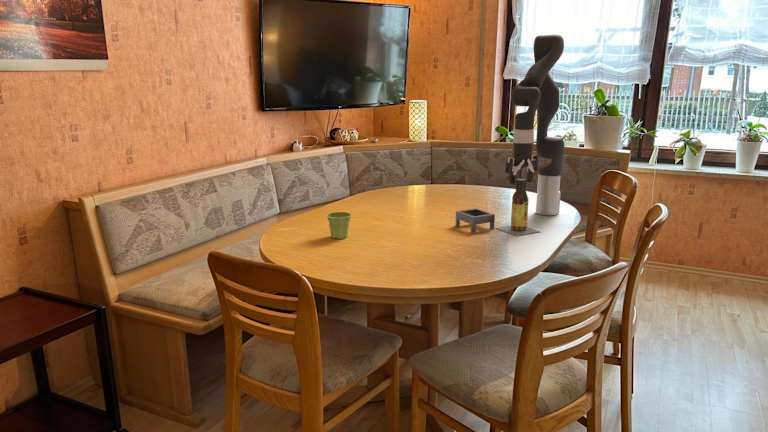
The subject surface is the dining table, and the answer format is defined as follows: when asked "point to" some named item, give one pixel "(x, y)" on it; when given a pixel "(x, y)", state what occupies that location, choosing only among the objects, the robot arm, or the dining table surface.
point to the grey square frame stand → (475, 218)
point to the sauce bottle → (519, 206)
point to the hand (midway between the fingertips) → (521, 183)
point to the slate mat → (518, 233)
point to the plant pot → (339, 224)
